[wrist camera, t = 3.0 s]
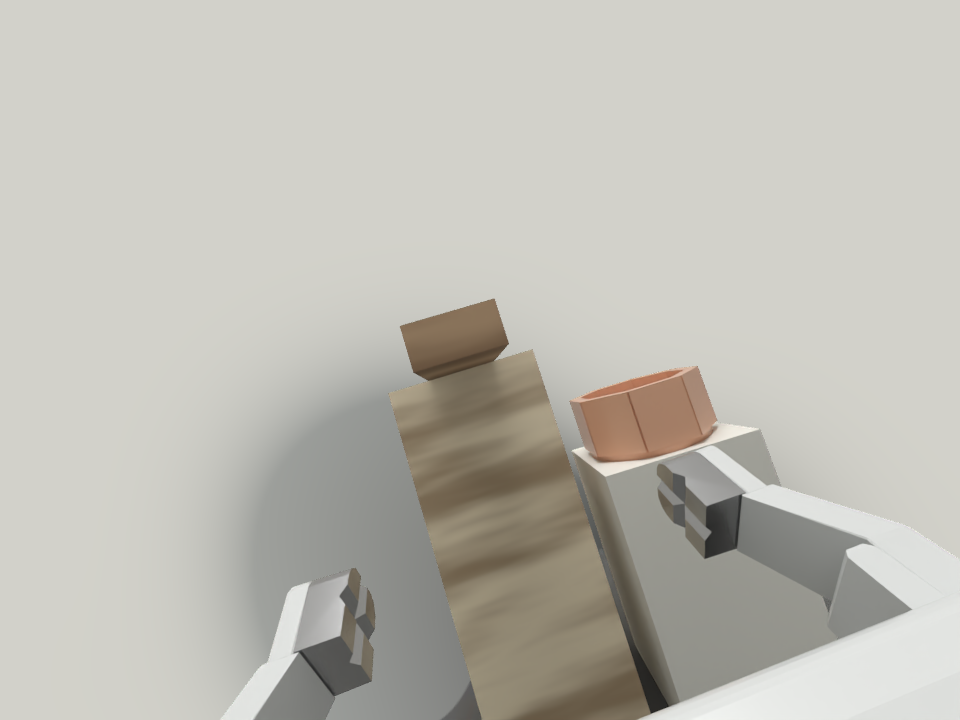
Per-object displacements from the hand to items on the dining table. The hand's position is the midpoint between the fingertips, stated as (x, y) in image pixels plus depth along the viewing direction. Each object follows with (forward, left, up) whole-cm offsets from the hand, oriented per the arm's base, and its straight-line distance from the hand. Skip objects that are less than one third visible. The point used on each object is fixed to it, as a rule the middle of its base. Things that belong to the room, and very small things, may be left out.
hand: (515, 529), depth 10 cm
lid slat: (+16, +1, +5) cm, 17 cm away
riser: (+19, -11, -21) cm, 30 cm away
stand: (+20, +2, -21) cm, 29 cm away
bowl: (+19, -11, -4) cm, 22 cm away
